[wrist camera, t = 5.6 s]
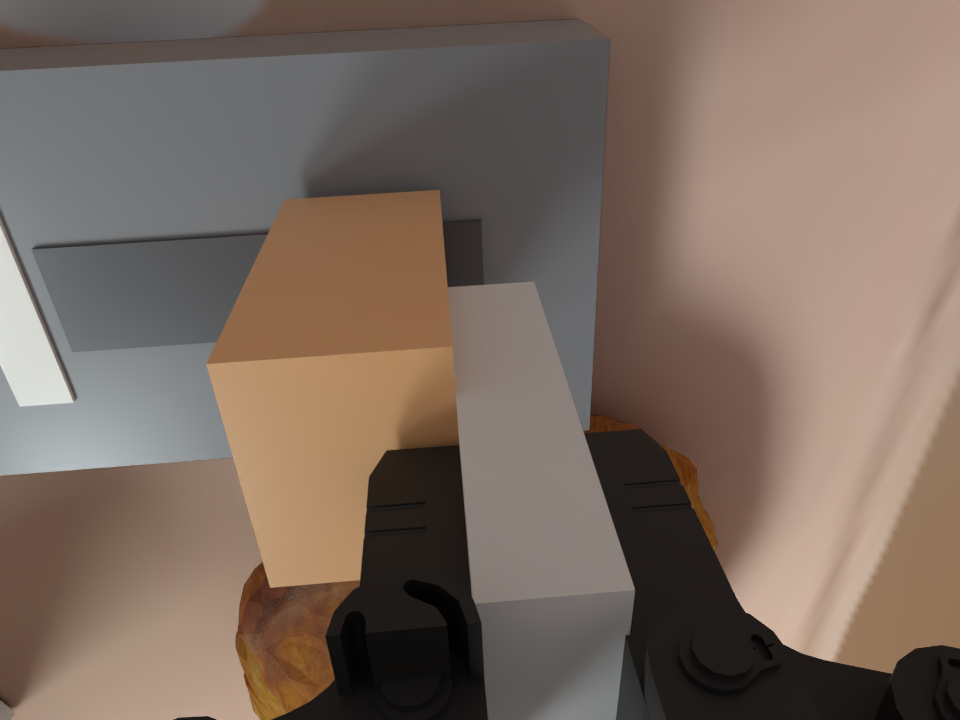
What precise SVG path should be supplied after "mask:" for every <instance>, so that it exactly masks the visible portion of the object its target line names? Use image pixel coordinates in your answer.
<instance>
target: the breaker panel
mask: <svg viewBox="0 0 960 720" xmlns="http://www.w3.org/2000/svg"><path fill="white" fill-rule="evenodd" d="M609 52H610V38H609V37H607V36H605V35H604V34H602V33H601V32H599V31H597V30H596V29H594V28H593V27H591V26H589V25H588V24H586V23H584V22H583V21H581V20H580V19H569V20H550V21H530V22H511V23H492V24H473V25H454V26H434V27H415V28H396V29H377V30H358V31H338V32H319V33H300V34H281V35H262V36H242V37H223V38H204V39H185V40H166V41H146V42H127V43H108V44H89V45H69V46H50V47H31V48H12V49H0V476H2V475H15V474H28V473H41V472H54V471H67V470H80V469H93V468H106V467H119V466H132V465H145V464H158V463H171V462H184V461H197V460H210V459H223V458H233V456H232V453H231V449H230V446H229V442H228V439H227V435H226V432H225V428H224V425H223V421H222V418H221V414H220V411H219V407H218V404H217V400H216V397H215V393H214V390H213V386H212V383H211V379H210V376H209V372H208V369H207V365H206V364H207V361H208V359H209V357H210V355H211V353H212V351H213V349H214V347H215V345H216V342H217V340H218V338H219V336H220V334H221V332H222V330H223V328H224V326H225V324H226V321H227V319H228V317H229V315H230V313H231V311H232V309H233V307H234V305H235V302H236V300H237V298H238V296H239V294H240V292H241V290H242V288H243V286H244V283H245V281H246V279H247V277H248V275H249V273H250V271H251V269H252V267H253V264H254V262H255V260H256V258H257V256H258V254H259V252H260V250H261V248H262V245H263V243H264V241H265V239H266V237H267V235H268V233H269V231H270V229H271V226H272V224H273V222H274V220H275V218H276V216H277V214H278V212H279V210H280V208H281V205H282V203H283V201H284V199H300V198H316V197H332V196H348V195H365V194H381V193H397V192H413V191H429V190H440V200H441V212H442V224H443V237H444V249H445V261H446V273H447V285H448V287H459V286H474V285H489V284H505V283H520V282H535V285H536V289H537V292H538V295H539V298H540V301H541V304H542V307H543V310H544V313H545V316H546V319H547V322H548V325H549V328H550V331H551V334H552V337H553V340H554V344H555V347H556V350H557V353H558V356H559V359H560V362H561V365H562V368H563V371H564V374H565V377H566V380H567V383H568V386H569V389H570V392H571V395H572V399H573V402H574V405H575V408H576V411H577V414H578V417H579V420H580V423H581V426H582V429H583V431H586V430H589V428H590V409H591V391H592V372H593V353H594V334H595V315H596V297H597V278H598V259H599V240H600V221H601V203H602V184H603V165H604V146H605V128H606V109H607V90H608V71H609Z"/></svg>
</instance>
